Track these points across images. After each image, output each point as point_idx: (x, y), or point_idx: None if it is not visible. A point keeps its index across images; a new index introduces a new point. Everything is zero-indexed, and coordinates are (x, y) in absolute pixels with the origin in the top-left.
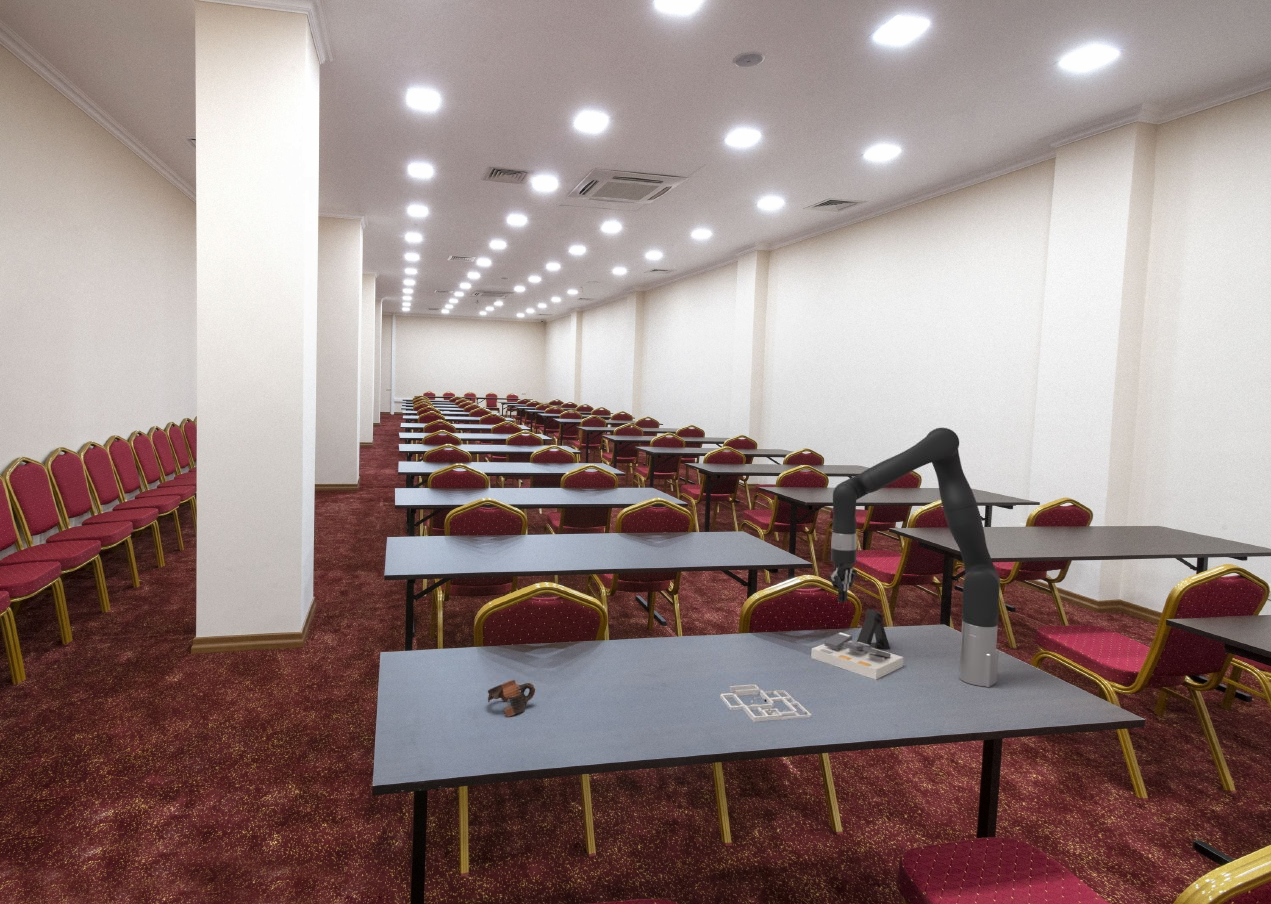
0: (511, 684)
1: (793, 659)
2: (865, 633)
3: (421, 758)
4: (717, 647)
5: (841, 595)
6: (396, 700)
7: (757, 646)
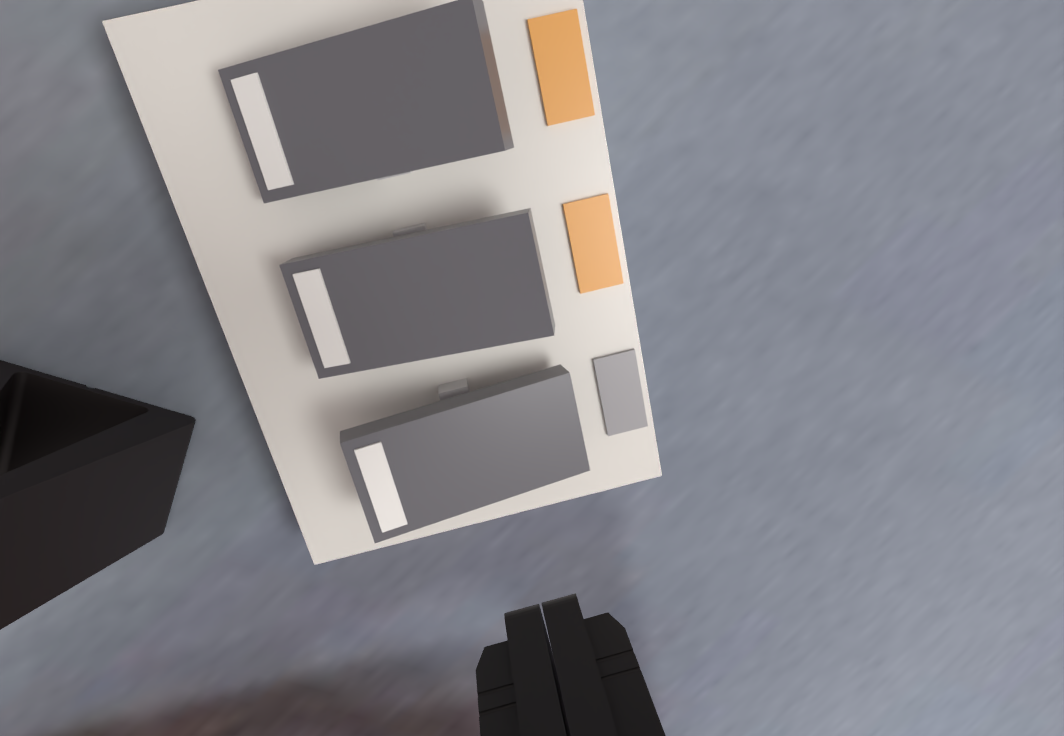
0: None
1: (754, 467)
2: (98, 513)
3: None
4: (948, 727)
5: (648, 694)
6: None
7: (771, 682)
